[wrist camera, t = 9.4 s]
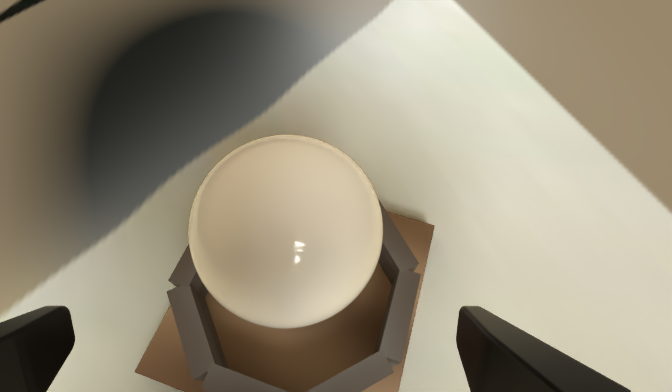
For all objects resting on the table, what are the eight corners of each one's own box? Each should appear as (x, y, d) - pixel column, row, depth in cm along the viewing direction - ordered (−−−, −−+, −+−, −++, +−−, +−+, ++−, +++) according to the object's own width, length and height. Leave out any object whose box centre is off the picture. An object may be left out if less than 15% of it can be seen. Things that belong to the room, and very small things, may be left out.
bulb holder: (378, 465, 17) (389, 479, 14) (143, 373, 18) (107, 367, 15) (430, 232, 22) (446, 205, 19) (246, 177, 24) (234, 144, 21)
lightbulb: (242, 249, 21) (161, 107, 11) (355, 231, 21) (366, 80, 12) (248, 373, 18) (141, 318, 8) (380, 349, 18) (424, 269, 9)
